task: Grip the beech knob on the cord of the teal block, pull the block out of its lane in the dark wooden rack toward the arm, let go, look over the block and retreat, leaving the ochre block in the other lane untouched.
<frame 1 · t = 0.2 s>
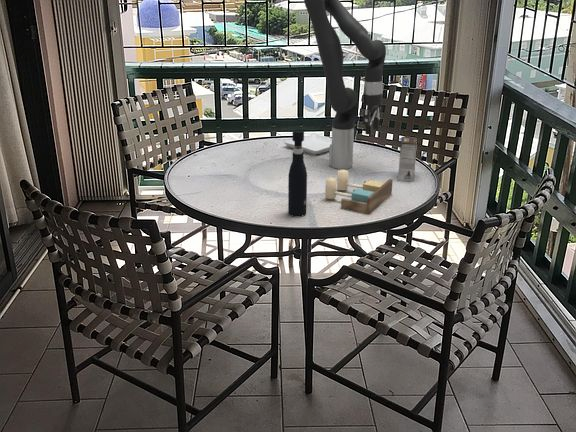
hand: (372, 131, 255), 17 cm above the table, tool pointing down, fingers open, 8 cm apart
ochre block: (360, 183, 237), point 4 cm above the table, slide at 0.0 cm
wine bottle: (297, 213, 221), on the table
coffee box: (405, 178, 256), on the table
teal block: (348, 192, 228), point 4 cm above the table, slide at 0.0 cm
salad plate: (314, 148, 293), on the table
lane rack: (366, 201, 232), on the table
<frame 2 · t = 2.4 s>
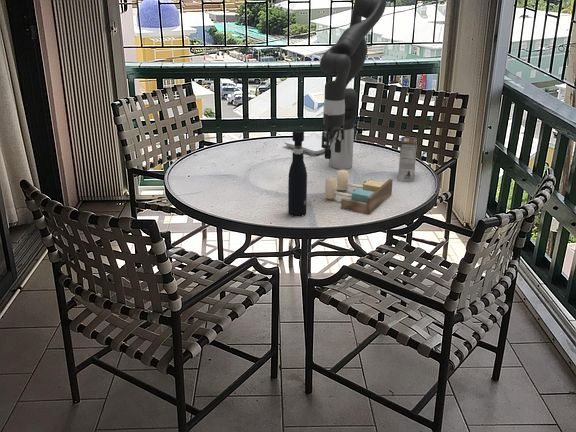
hand: (332, 155, 226), 17 cm above the table, tool pointing down, fingers open, 8 cm apart
nothing on the table moved.
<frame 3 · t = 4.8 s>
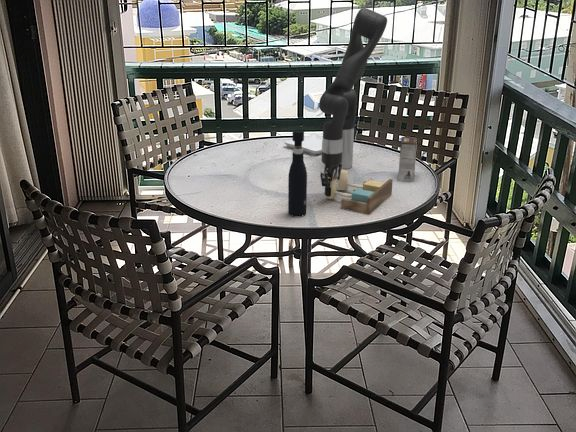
hand: (330, 193, 232), 2 cm above the table, tool pointing down, fingers closed on teal block, 4 cm apart
teal block: (348, 192, 228), point 4 cm above the table, slide at 0.0 cm, touching gripper
everything else where it was.
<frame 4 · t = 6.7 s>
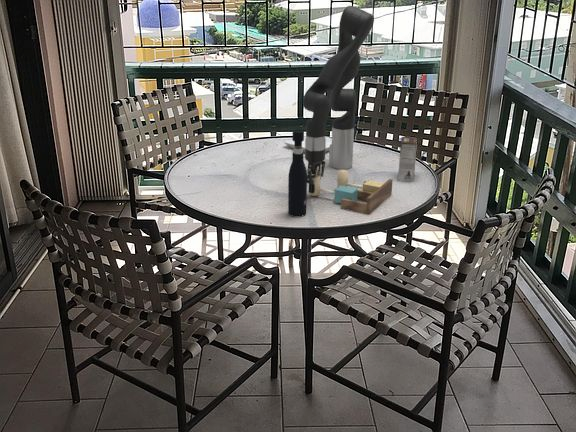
hand: (314, 190, 235), 2 cm above the table, tool pointing down, fingers closed on teal block, 4 cm apart
teal block: (331, 189, 231), point 4 cm above the table, slide at 6.8 cm, touching gripper
everything else where it was.
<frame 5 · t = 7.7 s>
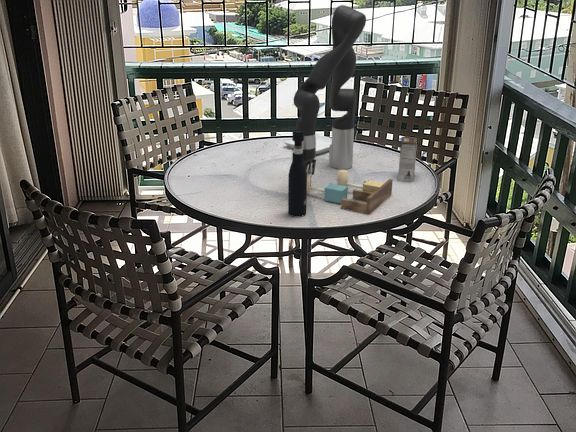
hand: (304, 188, 237), 2 cm above the table, tool pointing down, fingers closed on teal block, 4 cm apart
teal block: (322, 187, 233), point 4 cm above the table, slide at 10.8 cm, touching gripper
everything else where it was.
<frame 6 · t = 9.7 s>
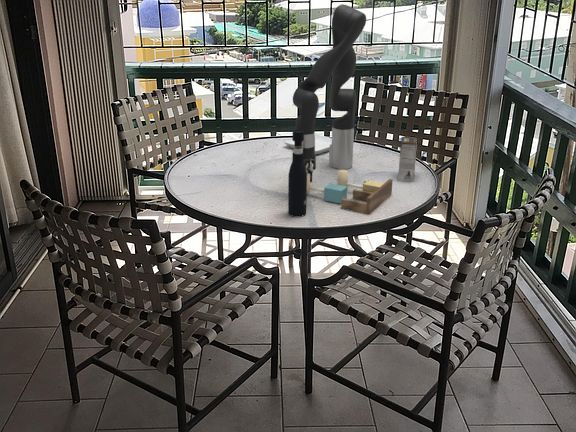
hand: (304, 185, 237), 4 cm above the table, tool pointing down, fingers open, 8 cm apart
teal block: (321, 187, 233), point 4 cm above the table, slide at 11.0 cm
everything else where it was.
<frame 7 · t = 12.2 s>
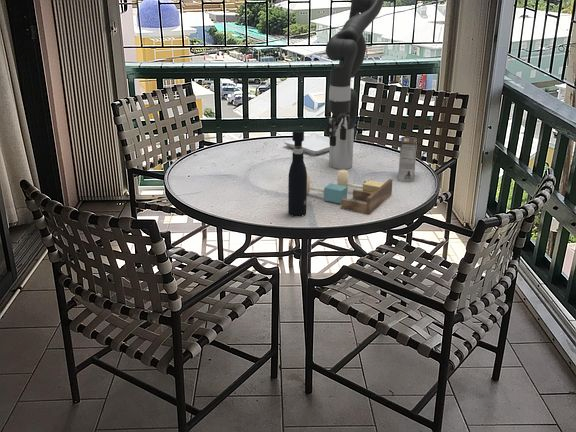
hand: (337, 142, 224), 22 cm above the table, tool pointing down, fingers open, 8 cm apart
nothing on the table moved.
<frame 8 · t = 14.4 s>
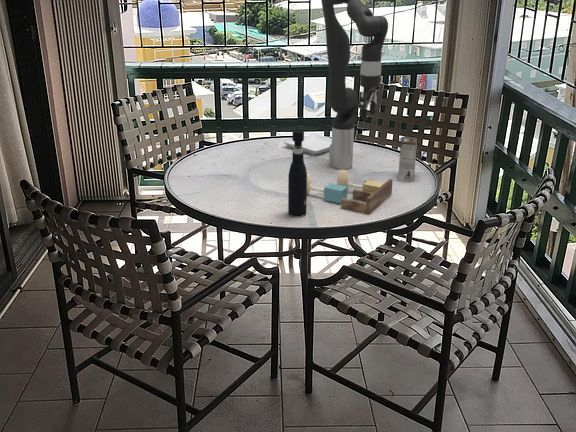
hand: (368, 116, 235), 28 cm above the table, tool pointing down, fingers open, 8 cm apart
nothing on the table moved.
at the end: teal block slide at 11.0 cm; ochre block slide at 0.0 cm; the gripper is holding nothing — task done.
